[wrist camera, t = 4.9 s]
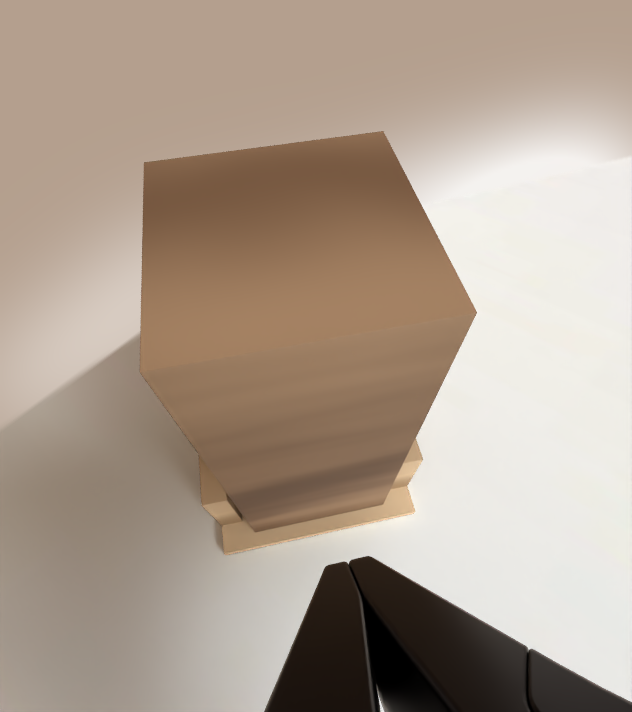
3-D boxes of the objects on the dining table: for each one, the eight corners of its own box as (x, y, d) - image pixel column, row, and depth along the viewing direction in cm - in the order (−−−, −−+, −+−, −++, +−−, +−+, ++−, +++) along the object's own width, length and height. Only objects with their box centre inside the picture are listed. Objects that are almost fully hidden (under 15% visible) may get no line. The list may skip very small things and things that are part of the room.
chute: (413, 513, 17) (433, 488, 14) (226, 554, 16) (203, 538, 13) (356, 332, 22) (361, 284, 19) (209, 358, 21) (190, 312, 18)
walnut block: (382, 504, 17) (476, 312, 6) (255, 532, 16) (140, 371, 6) (351, 392, 19) (383, 131, 9) (240, 413, 19) (143, 162, 9)
